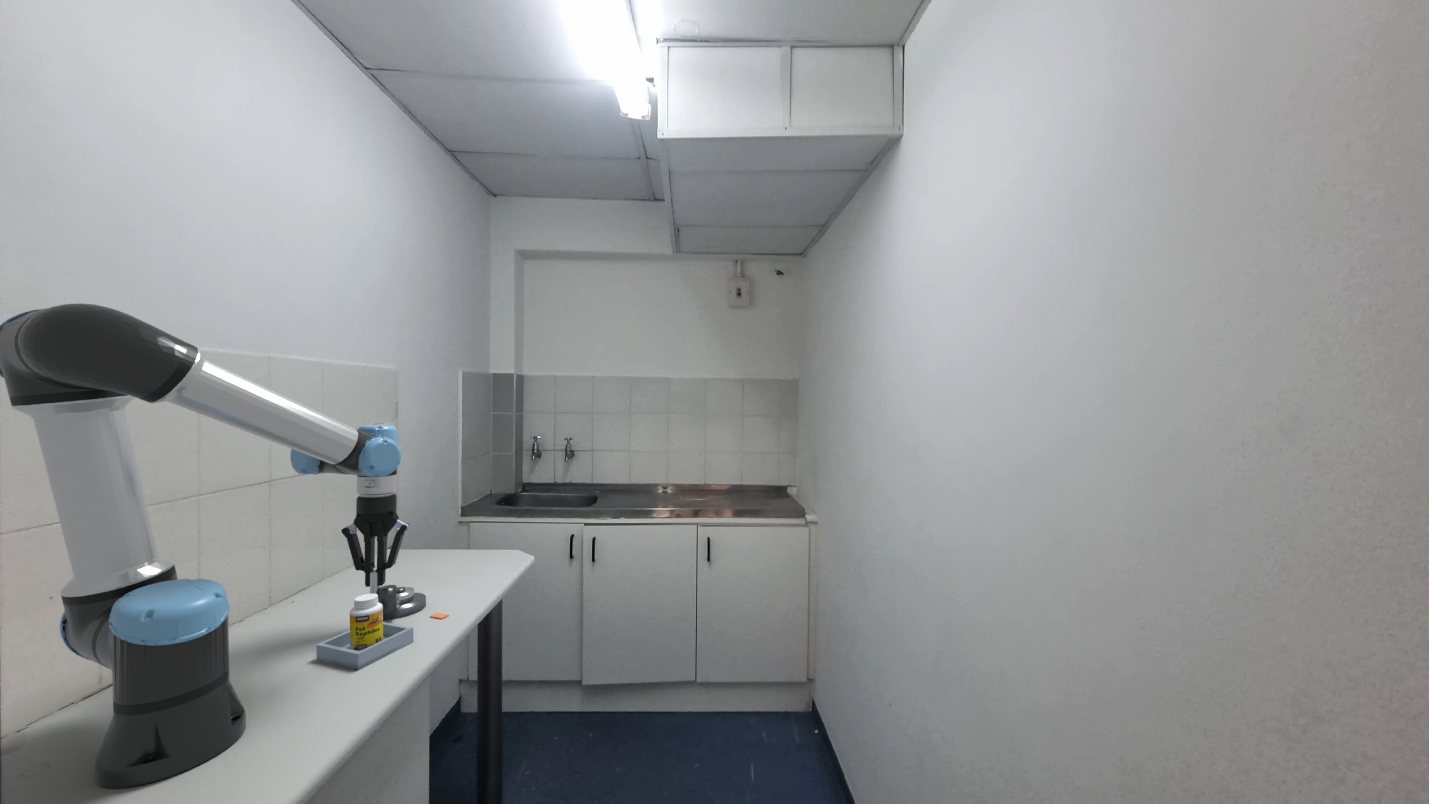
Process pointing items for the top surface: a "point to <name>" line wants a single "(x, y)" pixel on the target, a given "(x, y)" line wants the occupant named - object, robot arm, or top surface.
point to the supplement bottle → (366, 622)
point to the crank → (393, 598)
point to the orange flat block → (439, 615)
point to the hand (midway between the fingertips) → (375, 600)
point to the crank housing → (411, 606)
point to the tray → (342, 655)
